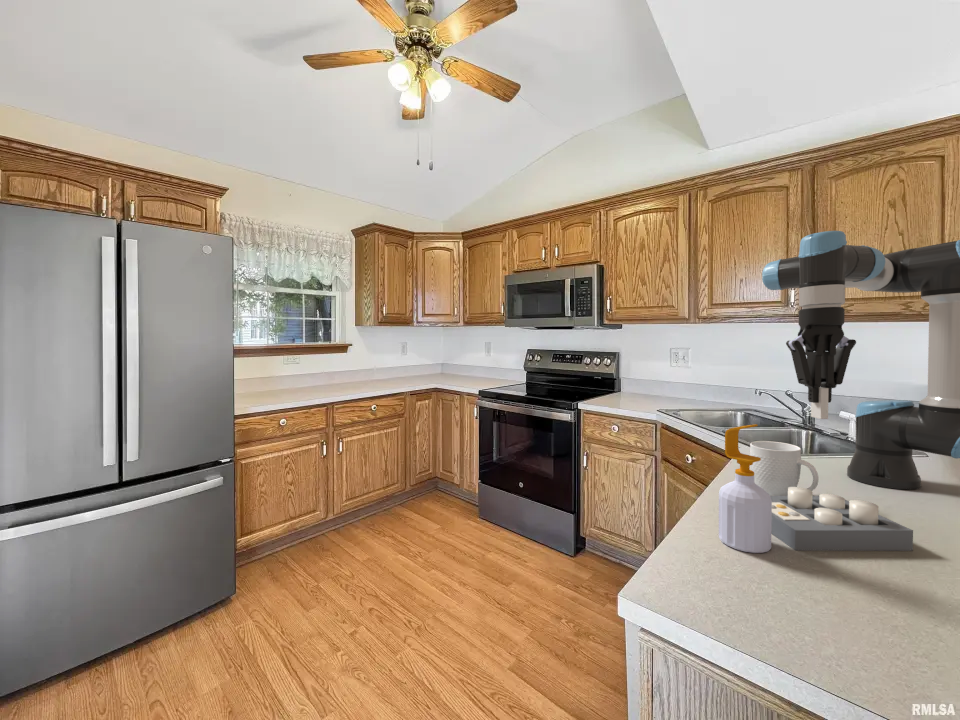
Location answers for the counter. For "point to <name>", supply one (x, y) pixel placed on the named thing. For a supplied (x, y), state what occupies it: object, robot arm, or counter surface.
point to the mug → (778, 467)
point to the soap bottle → (744, 503)
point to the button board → (835, 530)
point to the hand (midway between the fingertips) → (819, 417)
